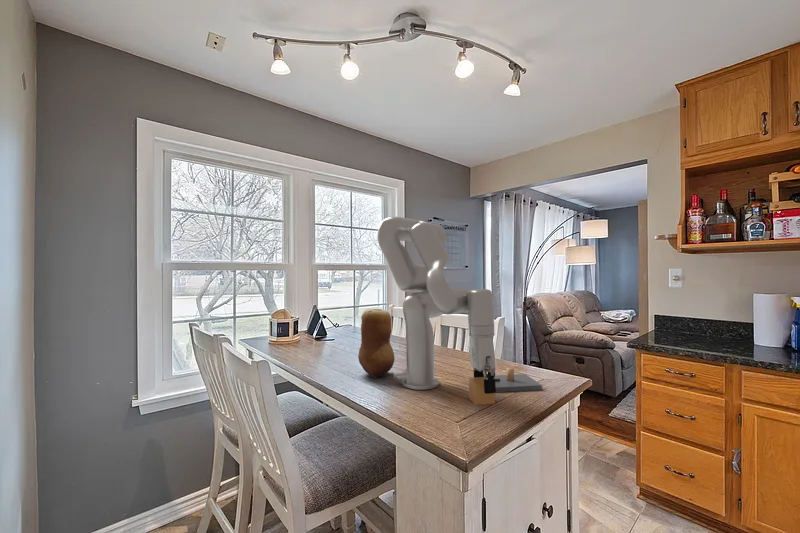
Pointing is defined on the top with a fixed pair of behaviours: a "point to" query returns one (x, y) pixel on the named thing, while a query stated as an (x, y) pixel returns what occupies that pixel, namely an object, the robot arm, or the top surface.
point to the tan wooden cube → (479, 392)
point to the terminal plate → (515, 382)
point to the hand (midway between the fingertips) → (484, 387)
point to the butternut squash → (376, 342)
